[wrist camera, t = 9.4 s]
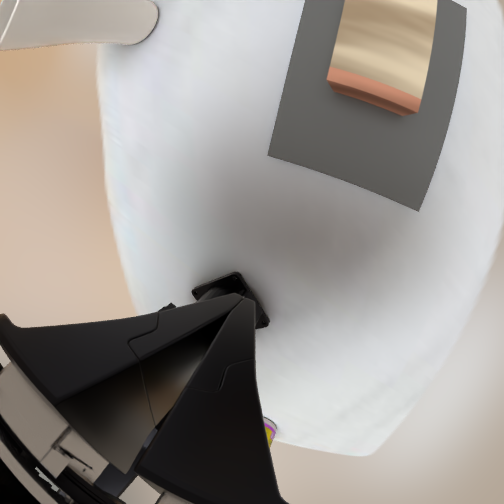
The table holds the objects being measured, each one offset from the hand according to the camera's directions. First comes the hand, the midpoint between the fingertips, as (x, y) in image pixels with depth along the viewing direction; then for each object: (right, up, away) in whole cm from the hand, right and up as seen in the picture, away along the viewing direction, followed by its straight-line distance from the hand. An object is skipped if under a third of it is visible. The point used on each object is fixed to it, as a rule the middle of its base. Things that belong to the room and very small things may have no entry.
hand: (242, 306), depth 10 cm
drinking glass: (-11, +24, +8) cm, 28 cm away
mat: (+9, +15, +4) cm, 18 cm away
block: (+7, +11, +3) cm, 14 cm away
